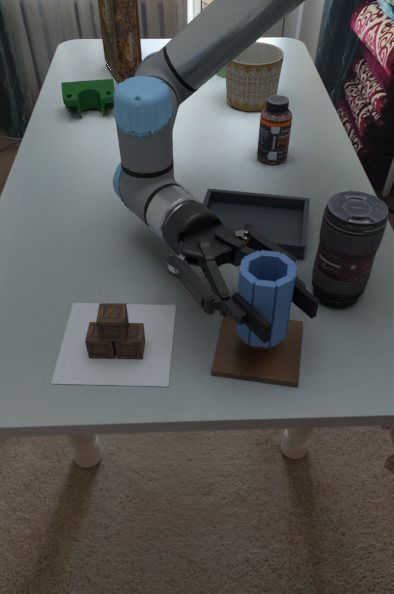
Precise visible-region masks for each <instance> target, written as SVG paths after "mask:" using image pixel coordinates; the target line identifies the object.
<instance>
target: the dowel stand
mask: <svg viewBox="0 0 394 594" xmlns="http://www.w3.org/2000/svg"><path fill="white" fill-rule="evenodd" d="M303 330H304V320H298V319H297V320H296V319H290V318H289V322H288V328H287V334H286V338H285V339H284V340H283V341H281V342H279V343H278V344H276V345H274V346H272V347H270V346H269V345H268V348H264V347H257V346H250V343H249V344H246V343H245V342H244V341H243V340H242V339H241V338H240V337H239V336H238V335H237V334H236V322H235V321H234V320H233V319H232V318H231V317H230V316H229V315H228V316H222V321H221V325H220V329H219V334H218V339H217V342H216V343H217V344H216V347H215V351H214V357H213V360H212V366H211V372H210V373H211V374H210V375H211V376H215V377H222V378H227V379H237V380H244V381H250V382H251V381H252V382H257V383H265V384H272V385H279V386H284V387H285V386H287V387H294V388H299V387H298V386H299V381H300V368H301V367H300V366H301V358H302V357H301V355H302V354H301V353H302V342H303V332H304V331H303Z"/></svg>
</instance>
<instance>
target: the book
mask: <svg viewBox="0 0 394 594" xmlns="http://www.w3.org/2000/svg"><path fill="white" fill-rule="evenodd" d="M96 1H97V7H98V15H99V24H100V25H99V26H100V32H101V33H100V34H101V38H102V39H101V40H102V41H101V42H102V49H103V55H104V61H106V63H107V64H108V65H107V64H106V63H105V62H104V63H105V67H106V69H107V71H108V72H109V74H111V76H112V77H113V80H115V81H116V83H117V85H118V84H119V83H121V82H124V80H125V79H128V78H131V77H134V75H135V72H136V70H137V67H138V66H139V65H140V64H141V62H142V61H143V55H142V53H143V52H142V40H141V29H140V15H139V4H138V3H139V2H138V0H96ZM108 66H109V67H110V68H109V67H108ZM110 69H111V70H110Z"/></svg>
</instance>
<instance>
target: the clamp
mask: <svg viewBox="0 0 394 594" xmlns="http://www.w3.org/2000/svg"><path fill="white" fill-rule="evenodd" d="M60 84H61V97H62V102H63V105H65V108H66V110H68V111H70V112H74V111H75V112H77V113H78V119H83V117H82V116H83V115H82V113H83V112H84V111H87V110H99V111H101V114H102V115H101V116H102V117H106V113H105V109H110V108H114V90H115V88H116V86H115V81H114V78H105V79H103V78H101V79H91V80H75V81H64V82H60Z"/></svg>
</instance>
